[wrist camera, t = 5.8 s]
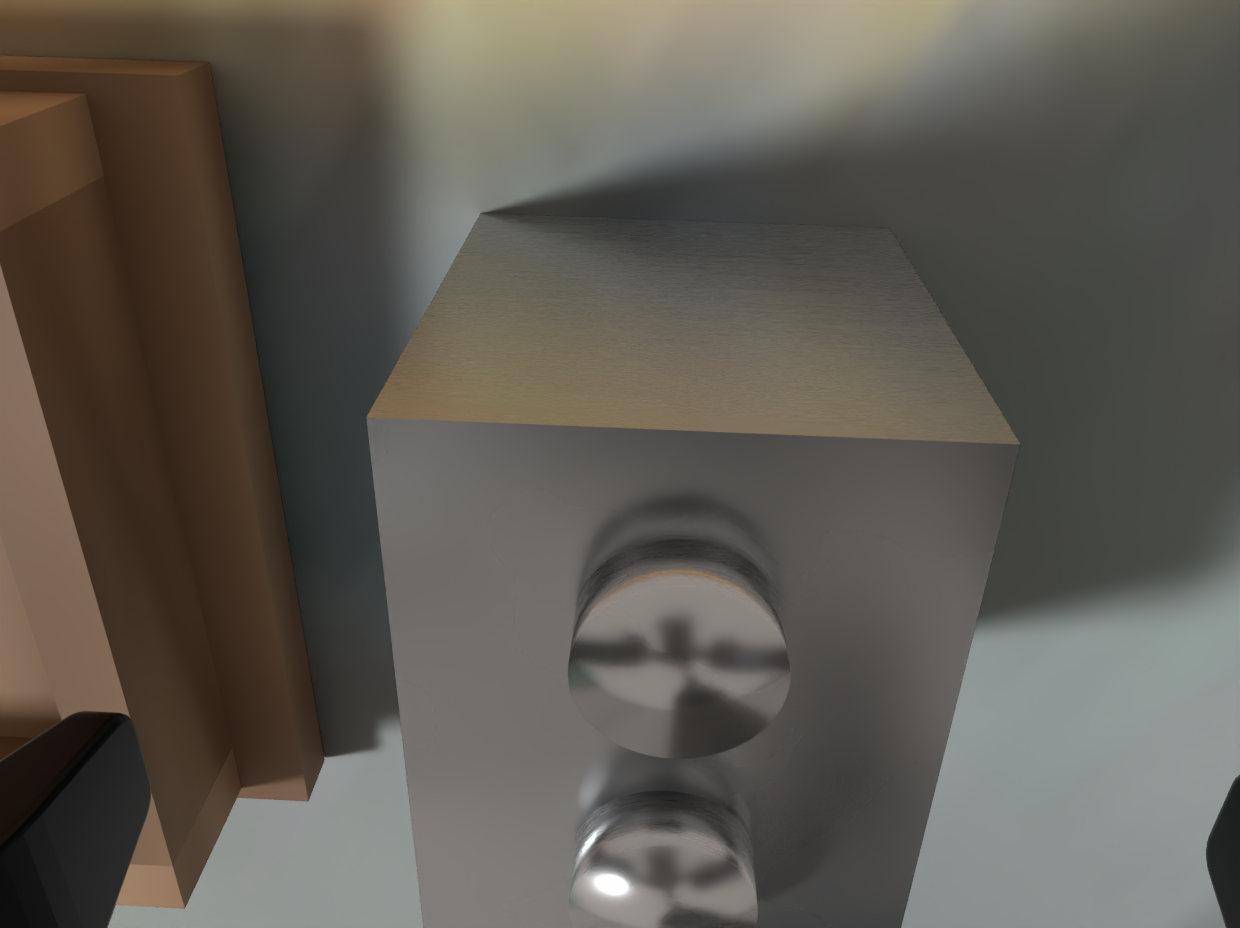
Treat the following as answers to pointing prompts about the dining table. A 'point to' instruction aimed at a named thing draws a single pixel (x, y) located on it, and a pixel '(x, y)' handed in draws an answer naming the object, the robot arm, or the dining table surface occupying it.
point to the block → (680, 572)
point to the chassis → (141, 456)
